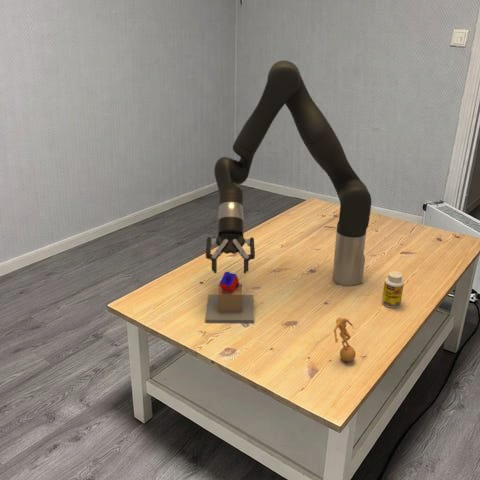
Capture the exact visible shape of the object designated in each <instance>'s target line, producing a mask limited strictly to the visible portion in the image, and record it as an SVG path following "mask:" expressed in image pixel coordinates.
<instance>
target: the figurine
mask: <svg viewBox="0 0 480 480" xmlns="http://www.w3.org/2000/svg"><path fill="white" fill-rule="evenodd" d="M335 323H336V325H335V327H334V329H333V333H334V341H335V343H339V342H338V341H339V339H338V338H337V329H339V331H340V332H339V336H340V337H341V339H342V341H341V344H342V348H341V349H340V350H339V356H340V358H341V360H342V361H343V362H346V363H349V362H352V361H354V360H355V358H356V356H357V355H356V350H355V349H354V347H352V346H351V345H350V344H349V343H348V341H349V340H351V338H352V337H351V335H350V334H349V331H348V329H347V328H346V327H347V323H348V324H349V325H350V326H351V327H352V329H353V330H355V328H354V325H353V324H352V322H351V321H350V320H349V319H347V318H345V317H344V318H343V317H338V318H337V319H336V321H335ZM345 344H346V345H345Z"/></svg>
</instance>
